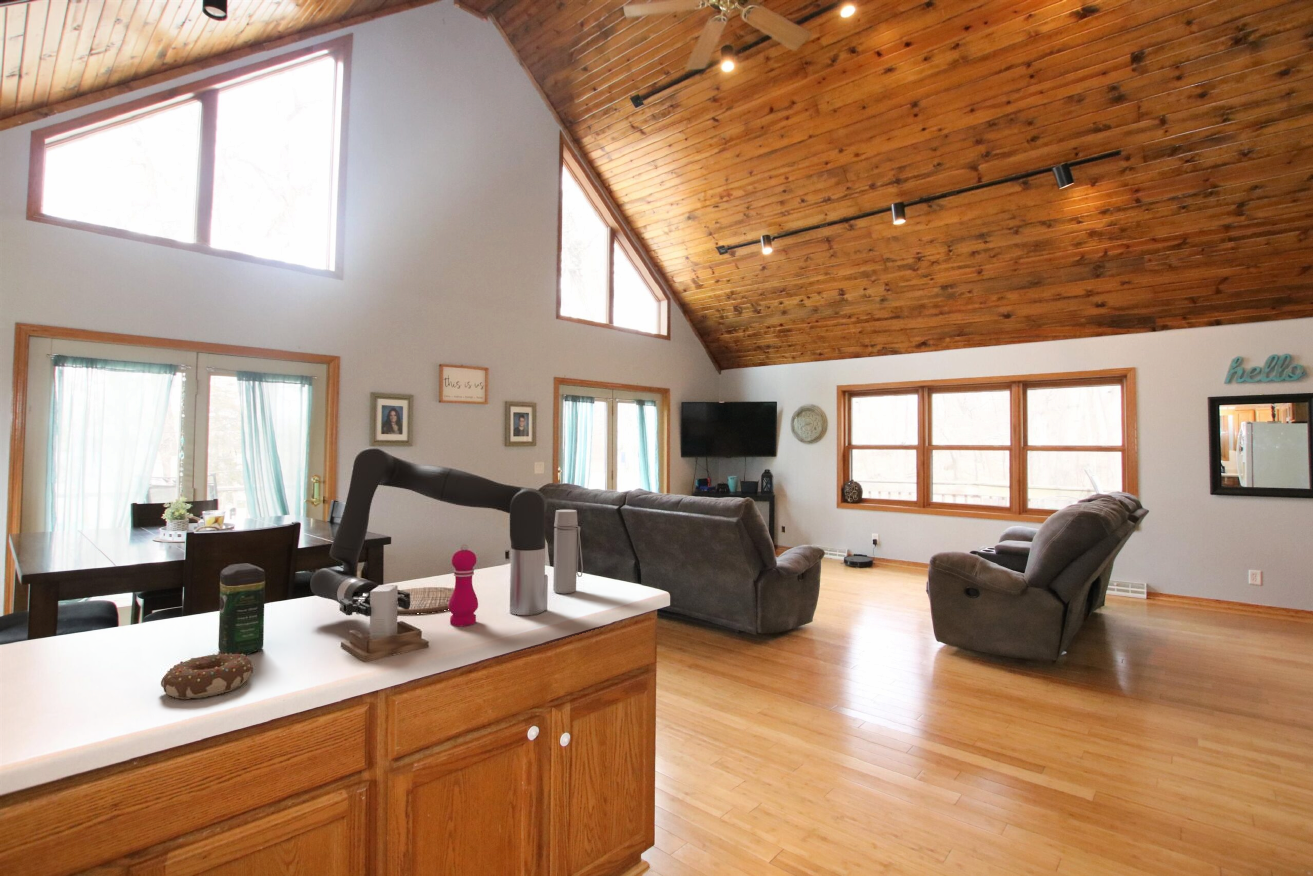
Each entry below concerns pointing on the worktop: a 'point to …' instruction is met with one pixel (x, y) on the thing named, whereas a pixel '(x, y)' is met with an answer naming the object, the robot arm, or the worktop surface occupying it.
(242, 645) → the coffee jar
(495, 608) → the worktop surface
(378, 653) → the u rest
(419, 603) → the trivet
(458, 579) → the pepper mill
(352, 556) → the robot arm
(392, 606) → the skincare box
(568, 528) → the water bottle
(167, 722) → the worktop surface
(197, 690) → the donut
